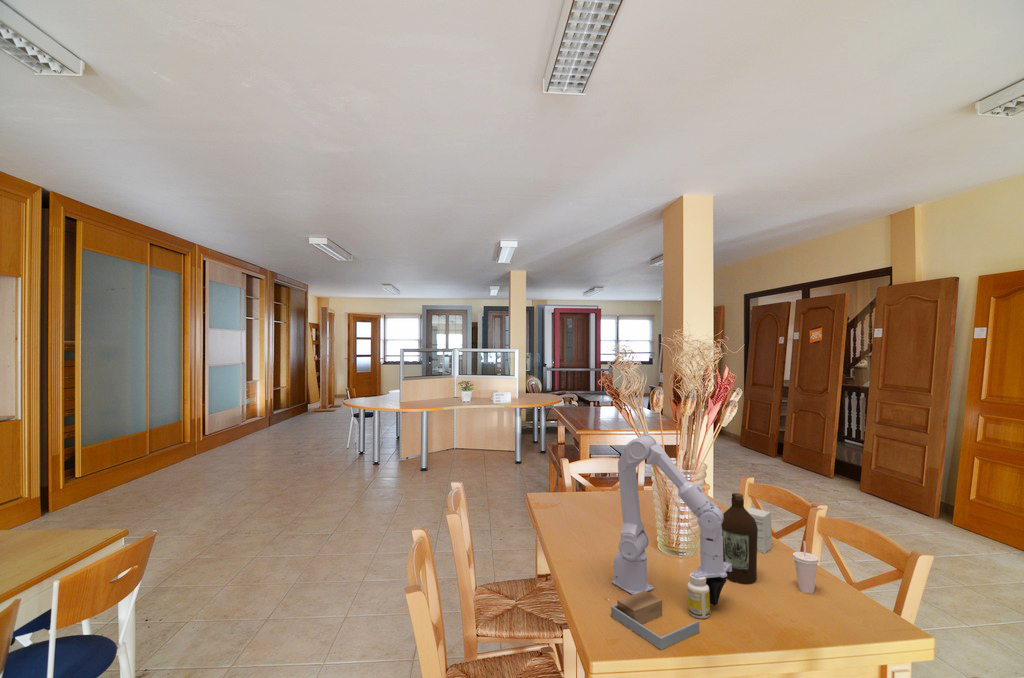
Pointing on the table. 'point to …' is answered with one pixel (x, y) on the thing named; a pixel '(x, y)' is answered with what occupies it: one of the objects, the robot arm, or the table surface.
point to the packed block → (641, 606)
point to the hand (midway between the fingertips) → (712, 603)
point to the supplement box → (762, 529)
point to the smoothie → (805, 570)
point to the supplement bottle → (698, 597)
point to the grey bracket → (651, 636)
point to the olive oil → (740, 542)
